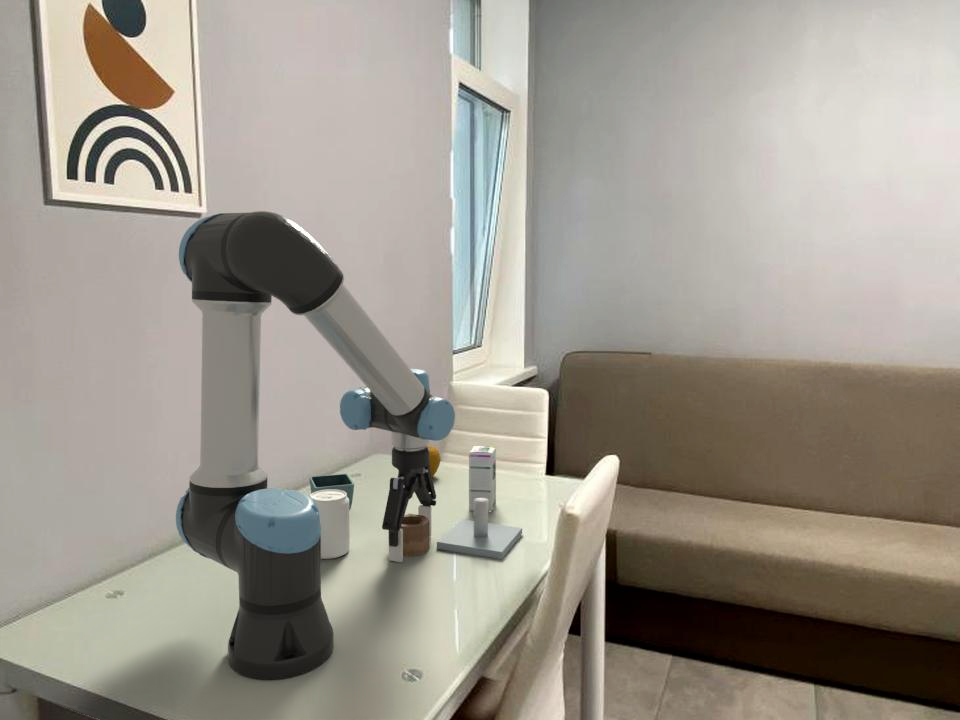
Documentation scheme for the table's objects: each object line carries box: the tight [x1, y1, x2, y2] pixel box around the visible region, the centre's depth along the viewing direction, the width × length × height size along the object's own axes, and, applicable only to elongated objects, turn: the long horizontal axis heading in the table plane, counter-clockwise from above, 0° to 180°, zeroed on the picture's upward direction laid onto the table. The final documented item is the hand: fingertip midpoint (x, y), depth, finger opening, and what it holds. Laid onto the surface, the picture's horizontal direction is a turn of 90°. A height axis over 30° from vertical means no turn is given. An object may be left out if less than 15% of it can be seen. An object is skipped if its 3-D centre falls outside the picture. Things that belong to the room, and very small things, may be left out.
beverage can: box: [309, 489, 351, 560], centre depth 141 cm, size 8×8×12 cm
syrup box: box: [468, 445, 497, 512], centre depth 168 cm, size 6×6×14 cm
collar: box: [400, 513, 430, 557], centre depth 144 cm, size 7×7×6 cm
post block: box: [436, 498, 523, 560], centre depth 148 cm, size 14×14×9 cm
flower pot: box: [309, 473, 355, 512], centre depth 160 cm, size 9×9×9 cm
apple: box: [427, 445, 441, 478], centre depth 193 cm, size 9×8×9 cm
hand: (411, 547), depth 144 cm, fingers open, 13 cm apart
